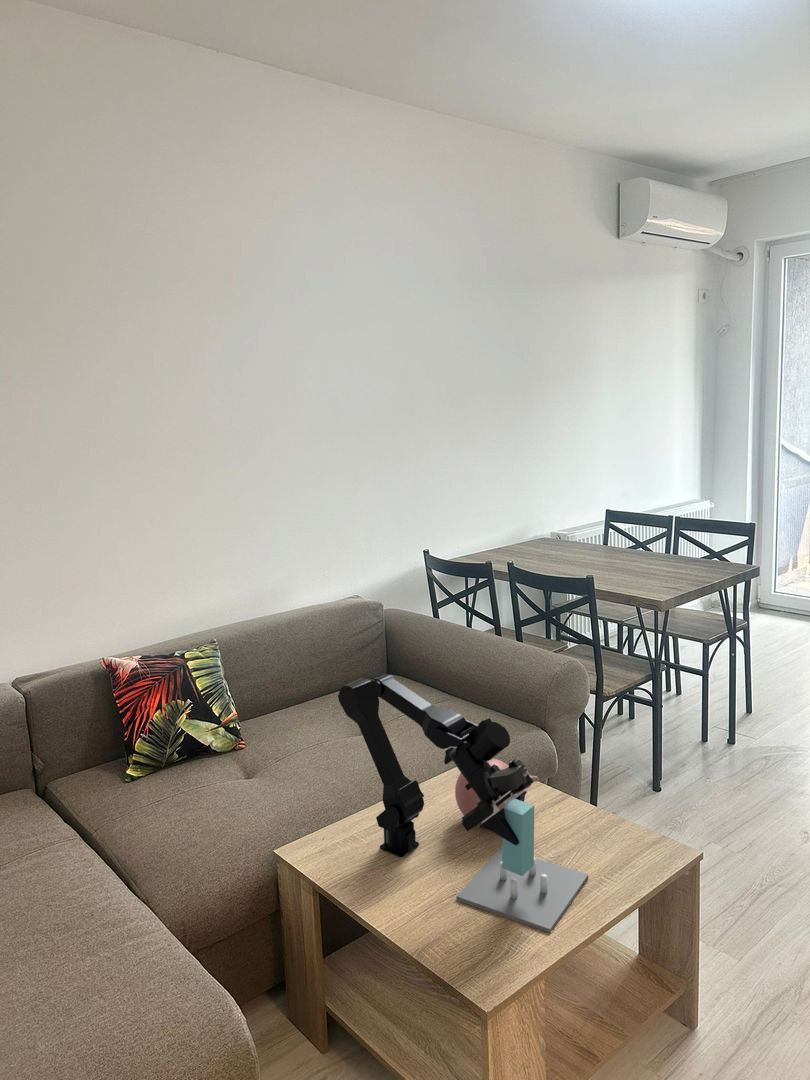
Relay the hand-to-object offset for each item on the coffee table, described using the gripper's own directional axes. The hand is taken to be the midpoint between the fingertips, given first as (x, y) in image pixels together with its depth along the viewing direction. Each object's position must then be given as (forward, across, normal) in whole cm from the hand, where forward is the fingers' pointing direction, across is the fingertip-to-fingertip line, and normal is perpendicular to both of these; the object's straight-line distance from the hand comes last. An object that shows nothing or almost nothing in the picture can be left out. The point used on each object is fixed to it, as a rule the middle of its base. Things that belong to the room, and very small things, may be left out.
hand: (524, 838), depth 162 cm
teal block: (+4, 0, +6) cm, 7 cm away
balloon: (-4, +22, +24) cm, 33 cm away
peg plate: (+8, +3, +11) cm, 14 cm away
